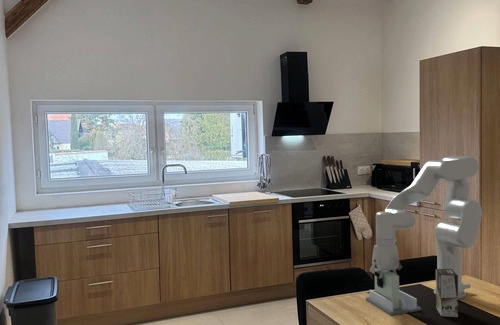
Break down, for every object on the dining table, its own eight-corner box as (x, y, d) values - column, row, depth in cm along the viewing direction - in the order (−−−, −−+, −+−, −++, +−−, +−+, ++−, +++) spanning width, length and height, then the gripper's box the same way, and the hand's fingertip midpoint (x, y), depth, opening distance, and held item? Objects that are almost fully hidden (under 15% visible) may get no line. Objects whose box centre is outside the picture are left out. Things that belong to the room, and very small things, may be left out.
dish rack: (394, 295, 193) (393, 285, 192) (421, 310, 175) (420, 299, 175) (365, 299, 189) (365, 289, 188) (390, 315, 171) (390, 304, 171)
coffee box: (458, 317, 168) (458, 275, 167) (440, 316, 169) (440, 274, 168) (452, 308, 177) (452, 268, 176) (435, 307, 178) (435, 268, 177)
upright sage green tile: (382, 298, 187) (381, 267, 187) (399, 307, 176) (398, 275, 175) (375, 299, 187) (374, 268, 186) (392, 309, 175) (391, 276, 174)
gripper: (398, 238, 186) (398, 281, 187) (362, 242, 181) (363, 286, 182) (409, 242, 179) (410, 286, 180) (372, 246, 174) (373, 291, 175)
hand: (386, 285), depth 181 cm, fingers open, 5 cm apart
